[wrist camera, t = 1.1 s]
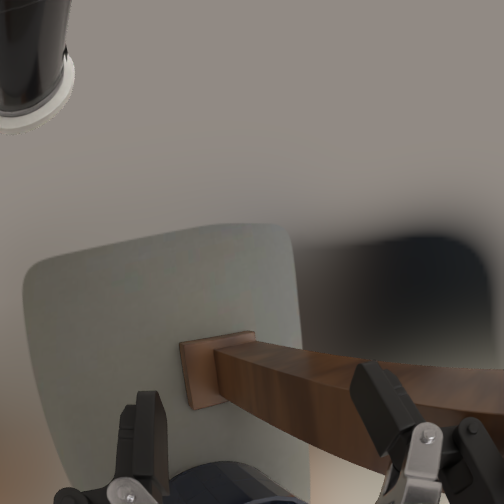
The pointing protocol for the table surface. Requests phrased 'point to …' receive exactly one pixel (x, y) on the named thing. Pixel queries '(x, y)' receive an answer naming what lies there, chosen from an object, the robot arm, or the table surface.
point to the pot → (227, 486)
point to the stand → (330, 392)
